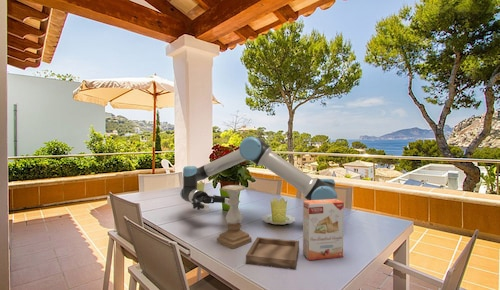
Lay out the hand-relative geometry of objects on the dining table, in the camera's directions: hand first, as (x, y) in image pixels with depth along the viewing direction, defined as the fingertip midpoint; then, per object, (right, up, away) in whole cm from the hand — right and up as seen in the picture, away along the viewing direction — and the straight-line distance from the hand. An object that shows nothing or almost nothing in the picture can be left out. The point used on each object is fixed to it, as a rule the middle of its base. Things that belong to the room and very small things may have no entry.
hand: (221, 205), depth 118 cm
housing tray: (+22, -14, -21) cm, 34 cm away
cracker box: (+41, -14, -22) cm, 48 cm away
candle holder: (+6, -14, -7) cm, 17 cm away
